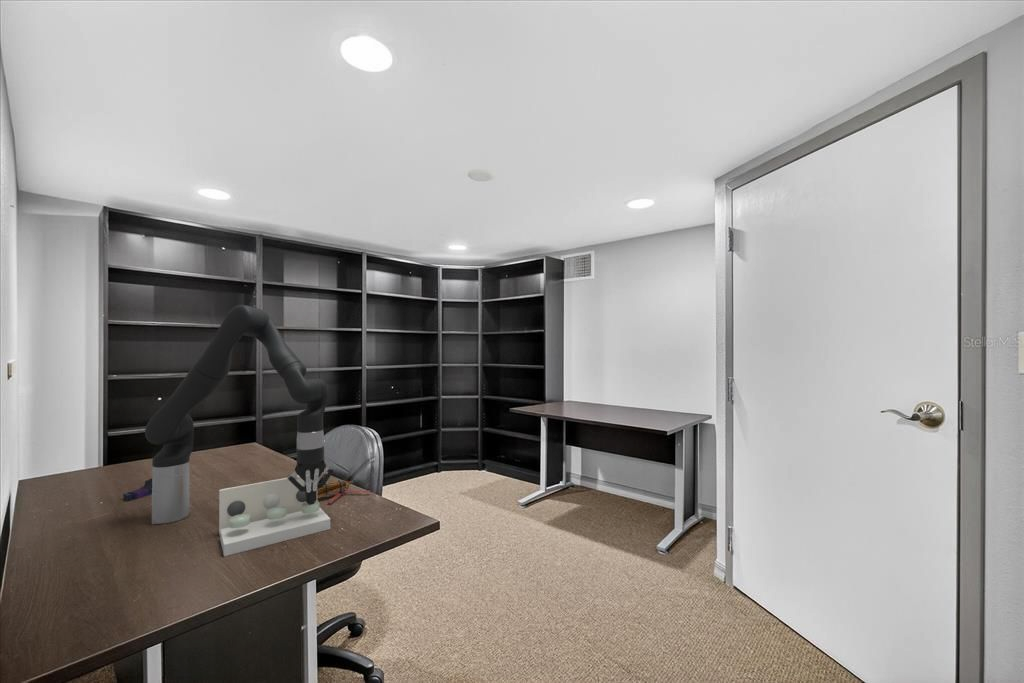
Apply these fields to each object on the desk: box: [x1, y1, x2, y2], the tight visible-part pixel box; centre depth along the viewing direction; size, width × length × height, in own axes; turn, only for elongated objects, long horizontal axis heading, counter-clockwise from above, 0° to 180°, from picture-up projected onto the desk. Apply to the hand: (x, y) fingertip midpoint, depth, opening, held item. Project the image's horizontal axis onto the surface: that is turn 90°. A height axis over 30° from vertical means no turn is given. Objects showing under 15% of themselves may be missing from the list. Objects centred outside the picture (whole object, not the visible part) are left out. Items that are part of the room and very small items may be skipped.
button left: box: [229, 514, 250, 528], centre depth 116 cm, size 5×5×2 cm
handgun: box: [122, 478, 152, 502], centre depth 162 cm, size 3×20×15 cm
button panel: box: [219, 506, 331, 557], centre depth 122 cm, size 26×12×3 cm, turn 128°
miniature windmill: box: [317, 479, 370, 504], centre depth 151 cm, size 15×11×30 cm
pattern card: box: [218, 475, 318, 537], centre depth 130 cm, size 26×4×13 cm, turn 128°
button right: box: [302, 500, 320, 513], centre depth 127 cm, size 5×5×2 cm
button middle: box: [267, 506, 286, 520], centre depth 122 cm, size 5×5×2 cm
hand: (310, 503), depth 127 cm, fingers closed
